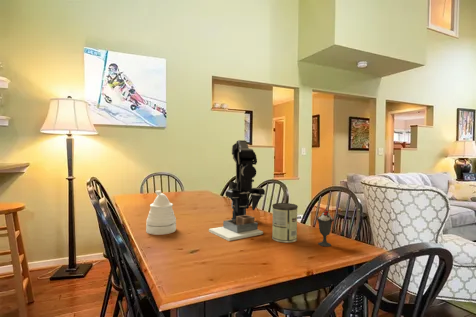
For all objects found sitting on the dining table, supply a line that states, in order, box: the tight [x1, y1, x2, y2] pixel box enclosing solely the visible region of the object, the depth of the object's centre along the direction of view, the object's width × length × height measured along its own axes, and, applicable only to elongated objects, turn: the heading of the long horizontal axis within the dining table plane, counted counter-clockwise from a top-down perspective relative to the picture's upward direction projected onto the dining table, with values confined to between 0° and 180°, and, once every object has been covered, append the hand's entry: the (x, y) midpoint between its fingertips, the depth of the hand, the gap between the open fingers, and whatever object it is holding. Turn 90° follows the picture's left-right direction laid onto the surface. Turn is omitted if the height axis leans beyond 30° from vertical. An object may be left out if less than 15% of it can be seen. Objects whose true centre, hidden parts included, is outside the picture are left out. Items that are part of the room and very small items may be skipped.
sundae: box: [316, 206, 335, 248], centre depth 108 cm, size 7×7×15 cm
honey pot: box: [145, 190, 177, 236], centre depth 124 cm, size 13×13×18 cm
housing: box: [222, 219, 259, 233], centre depth 125 cm, size 11×11×3 cm
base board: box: [208, 226, 264, 242], centre depth 123 cm, size 18×16×4 cm
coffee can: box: [271, 202, 299, 244], centre depth 115 cm, size 10×10×14 cm
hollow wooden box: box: [236, 214, 256, 225], centre depth 127 cm, size 6×6×5 cm
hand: (245, 211), depth 127 cm, fingers open, 9 cm apart
